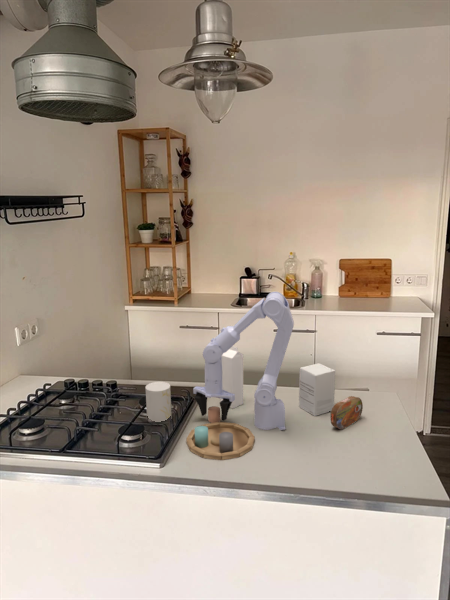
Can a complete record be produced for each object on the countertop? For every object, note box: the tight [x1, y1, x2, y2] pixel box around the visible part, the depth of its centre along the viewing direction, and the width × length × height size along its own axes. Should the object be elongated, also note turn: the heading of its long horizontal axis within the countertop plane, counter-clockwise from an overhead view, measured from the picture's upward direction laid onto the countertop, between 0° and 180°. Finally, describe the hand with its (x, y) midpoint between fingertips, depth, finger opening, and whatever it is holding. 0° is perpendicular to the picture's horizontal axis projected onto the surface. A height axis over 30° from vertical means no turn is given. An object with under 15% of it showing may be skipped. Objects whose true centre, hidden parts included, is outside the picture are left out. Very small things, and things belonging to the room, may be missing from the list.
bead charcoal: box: [219, 432, 233, 453], centre depth 135 cm, size 4×4×5 cm
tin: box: [330, 395, 363, 430], centre depth 153 cm, size 15×3×8 cm, turn 131°
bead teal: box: [194, 425, 208, 448], centre depth 139 cm, size 4×4×5 cm
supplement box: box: [298, 362, 336, 417], centre depth 163 cm, size 9×9×15 cm
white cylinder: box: [145, 381, 172, 422], centre depth 156 cm, size 8×8×12 cm
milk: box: [219, 345, 244, 410], centre depth 167 cm, size 6×6×22 cm
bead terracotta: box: [207, 406, 221, 423], centre depth 154 cm, size 4×4×5 cm
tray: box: [185, 421, 256, 461], centre depth 141 cm, size 20×20×2 cm
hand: (214, 417), depth 155 cm, fingers open, 7 cm apart
